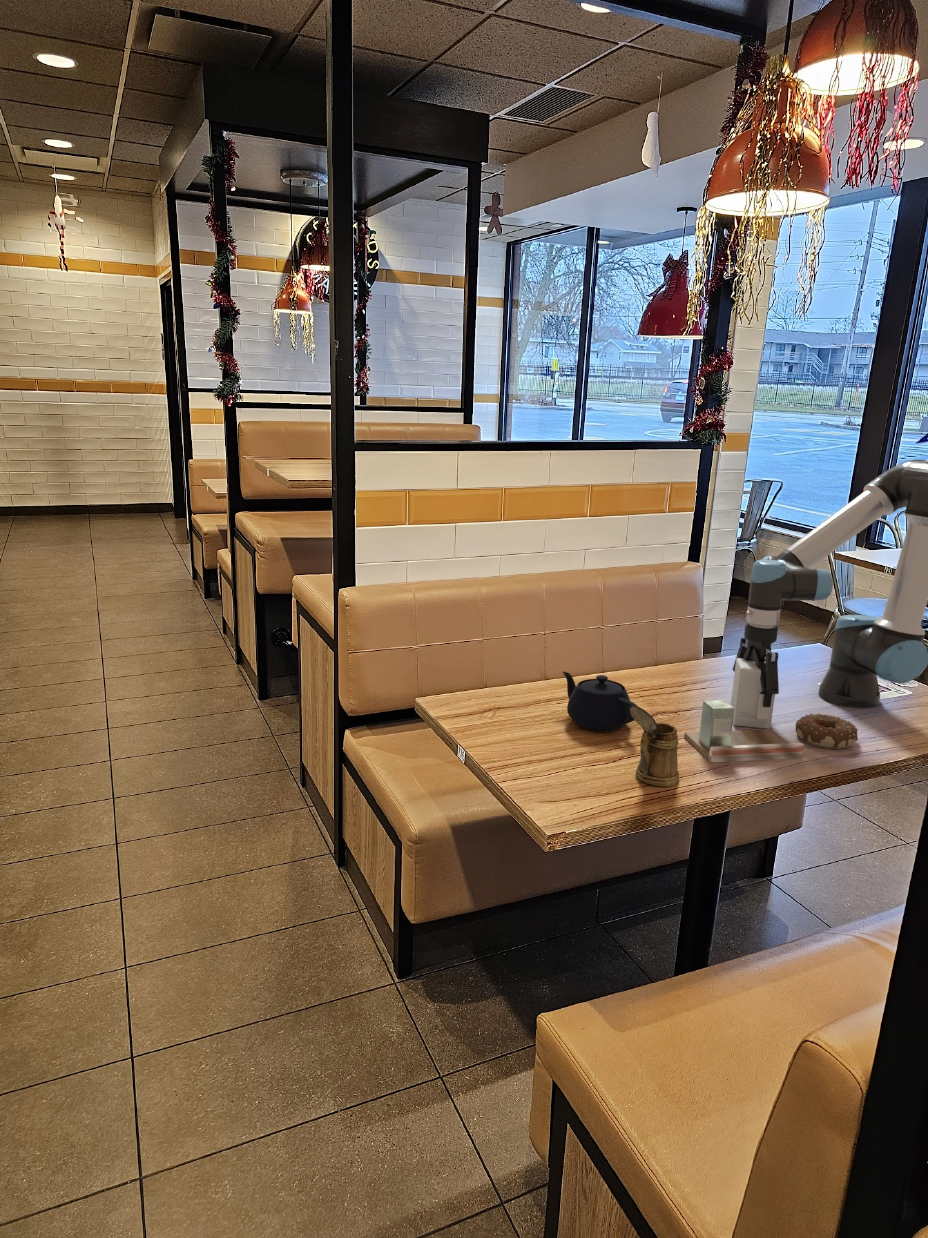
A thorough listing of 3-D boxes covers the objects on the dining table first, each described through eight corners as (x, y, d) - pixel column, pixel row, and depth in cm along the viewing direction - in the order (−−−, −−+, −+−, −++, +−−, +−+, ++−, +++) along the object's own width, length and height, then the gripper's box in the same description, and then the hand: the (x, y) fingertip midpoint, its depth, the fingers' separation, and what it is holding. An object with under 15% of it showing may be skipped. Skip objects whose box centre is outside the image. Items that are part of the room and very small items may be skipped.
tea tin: (719, 740, 192) (723, 700, 189) (729, 750, 187) (734, 708, 184) (698, 741, 191) (703, 700, 188) (708, 751, 186) (713, 709, 183)
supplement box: (771, 729, 202) (779, 671, 199) (733, 726, 204) (740, 668, 200) (765, 716, 211) (773, 660, 207) (729, 712, 213) (735, 657, 209)
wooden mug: (611, 780, 173) (618, 699, 168) (654, 765, 181) (661, 686, 176) (645, 797, 166) (653, 712, 161) (687, 780, 174) (696, 699, 169)
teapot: (656, 732, 199) (661, 684, 196) (612, 747, 190) (616, 696, 186) (581, 701, 218) (585, 656, 215) (537, 713, 209) (540, 666, 205)
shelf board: (769, 733, 200) (771, 721, 199) (803, 758, 187) (805, 745, 186) (684, 737, 196) (685, 724, 195) (711, 763, 183) (713, 749, 182)
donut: (858, 756, 189) (862, 735, 188) (794, 746, 194) (797, 726, 192) (853, 734, 202) (857, 714, 201) (793, 725, 207) (796, 706, 205)
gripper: (725, 612, 211) (715, 694, 217) (772, 638, 189) (760, 728, 195) (752, 611, 213) (742, 693, 218) (802, 637, 191) (790, 727, 196)
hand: (751, 709), depth 207 cm, fingers closed on supplement box, 11 cm apart
